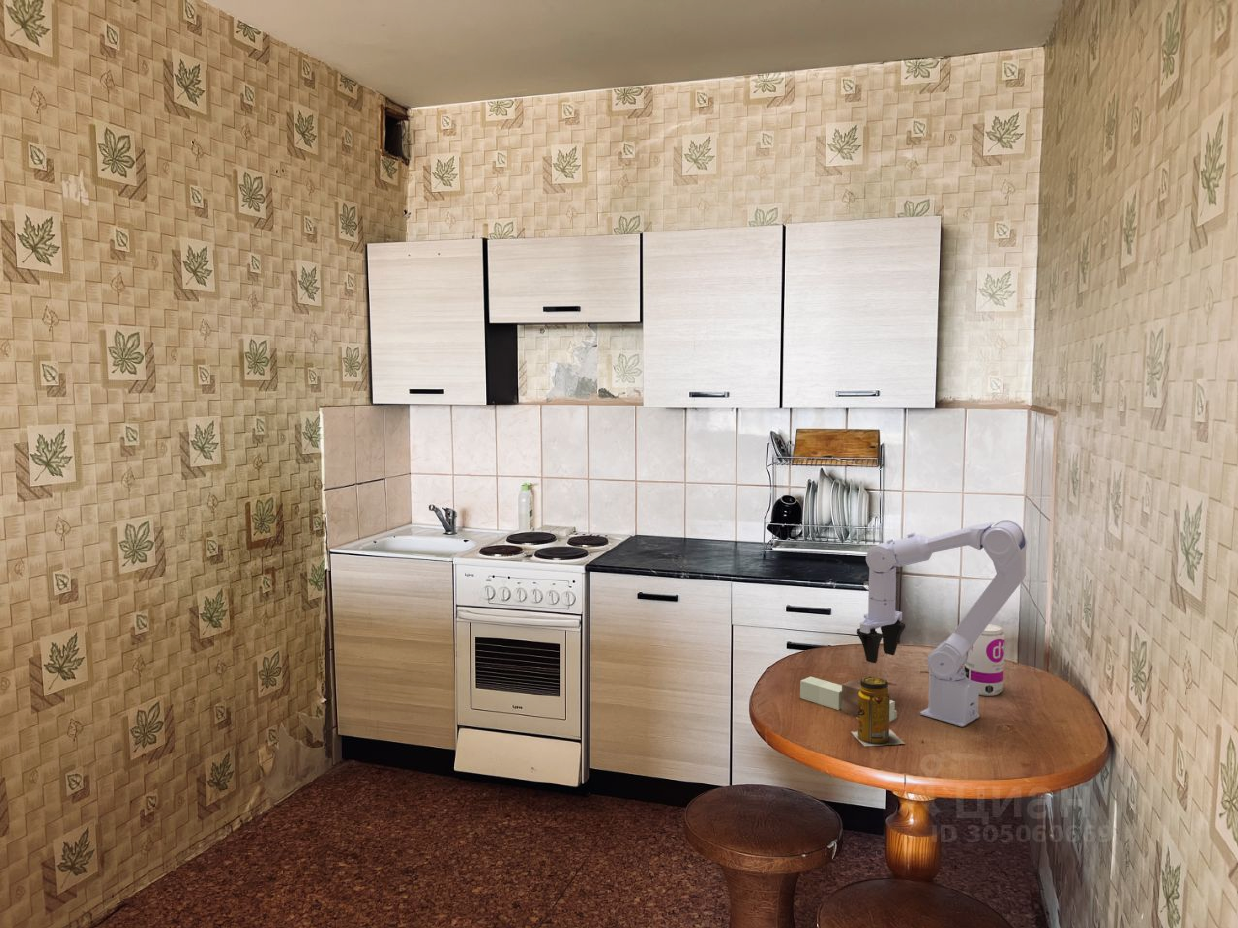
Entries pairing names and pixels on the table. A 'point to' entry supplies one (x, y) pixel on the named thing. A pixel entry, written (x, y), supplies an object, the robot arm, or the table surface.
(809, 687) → the sage bar
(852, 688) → the walnut key block
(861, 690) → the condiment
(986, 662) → the supplement can
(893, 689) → the table surface
